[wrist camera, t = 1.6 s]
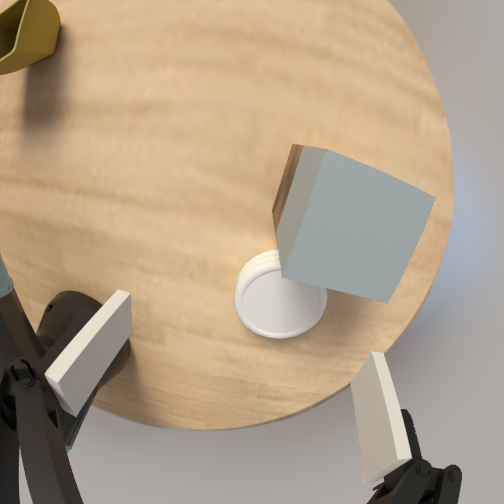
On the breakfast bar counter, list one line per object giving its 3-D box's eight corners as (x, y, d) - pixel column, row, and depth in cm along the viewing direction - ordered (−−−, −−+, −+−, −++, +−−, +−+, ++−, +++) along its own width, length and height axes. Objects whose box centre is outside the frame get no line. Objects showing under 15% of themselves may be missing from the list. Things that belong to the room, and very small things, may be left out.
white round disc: (247, 237, 29) (245, 251, 26) (334, 259, 30) (342, 274, 26) (228, 313, 33) (225, 331, 30) (305, 328, 34) (309, 347, 30)
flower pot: (21, 80, 20) (-25, 79, 12) (30, 29, 17) (-10, 20, 9) (63, 61, 20) (14, 51, 12) (74, 6, 17) (33, -13, 9)
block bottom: (335, 229, 28) (355, 256, 22) (272, 210, 28) (275, 233, 21) (357, 167, 25) (386, 177, 19) (292, 144, 25) (303, 145, 18)
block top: (355, 256, 22) (387, 303, 15) (275, 233, 21) (282, 277, 15) (386, 177, 19) (435, 197, 13) (303, 145, 18) (326, 149, 12)
